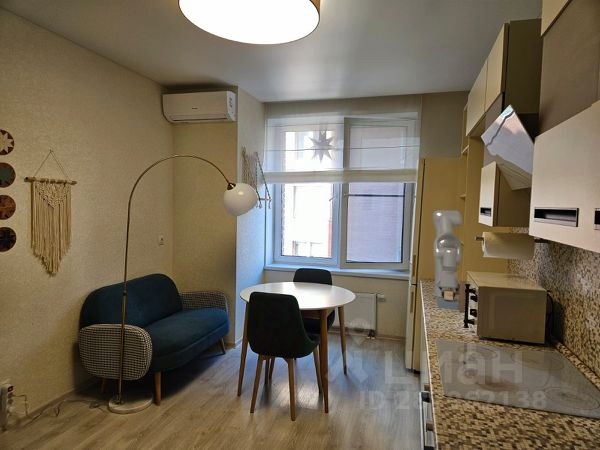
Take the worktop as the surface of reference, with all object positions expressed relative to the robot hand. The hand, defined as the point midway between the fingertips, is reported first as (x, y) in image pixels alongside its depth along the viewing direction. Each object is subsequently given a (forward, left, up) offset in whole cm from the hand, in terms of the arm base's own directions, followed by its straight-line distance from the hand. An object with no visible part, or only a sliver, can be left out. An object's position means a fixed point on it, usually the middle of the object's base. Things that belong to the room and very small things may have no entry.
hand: (448, 297), depth 229 cm
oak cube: (0, 0, -1) cm, 1 cm away
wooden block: (+8, +10, -6) cm, 14 cm away
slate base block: (0, 0, -6) cm, 6 cm away
